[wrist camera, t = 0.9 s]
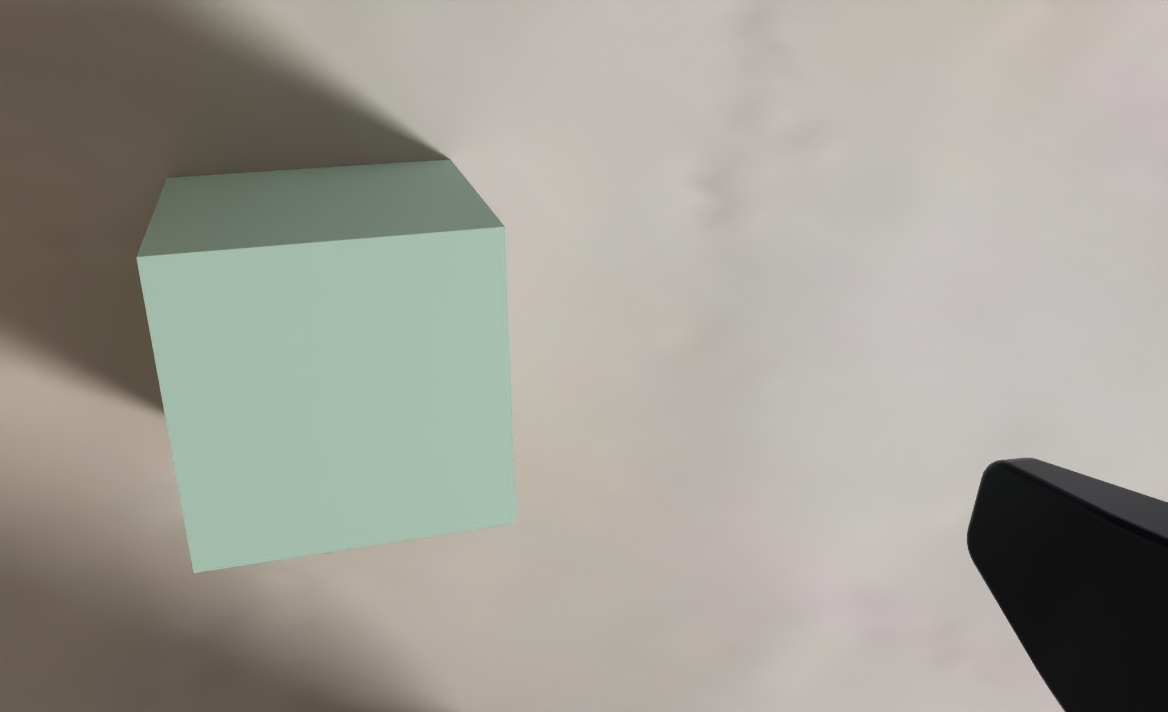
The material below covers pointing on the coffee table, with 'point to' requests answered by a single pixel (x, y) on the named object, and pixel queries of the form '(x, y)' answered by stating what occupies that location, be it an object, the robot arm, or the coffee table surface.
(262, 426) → the sage block
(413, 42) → the coffee table surface
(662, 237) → the coffee table surface
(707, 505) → the coffee table surface
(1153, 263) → the coffee table surface
